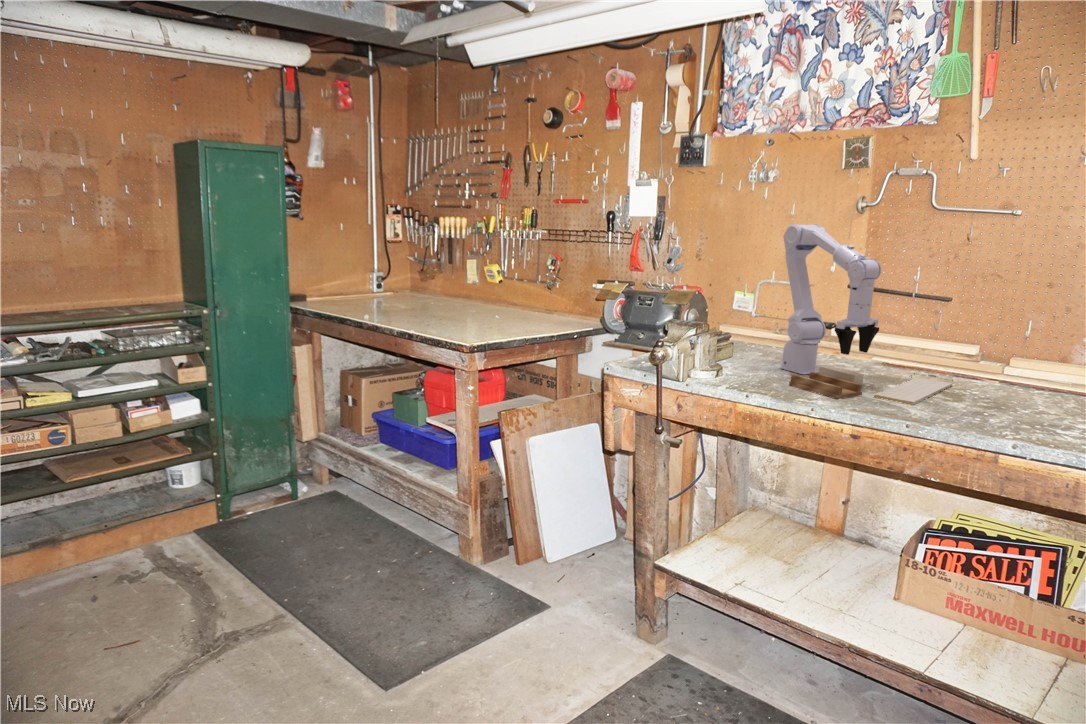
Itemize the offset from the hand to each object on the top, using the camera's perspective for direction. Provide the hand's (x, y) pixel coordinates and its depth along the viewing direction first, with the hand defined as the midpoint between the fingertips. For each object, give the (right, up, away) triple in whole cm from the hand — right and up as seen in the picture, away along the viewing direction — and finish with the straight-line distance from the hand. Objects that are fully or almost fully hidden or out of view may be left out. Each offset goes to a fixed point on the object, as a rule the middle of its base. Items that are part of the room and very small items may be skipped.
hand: (854, 352), depth 190 cm
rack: (-10, -10, -4) cm, 14 cm away
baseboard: (+14, -11, -2) cm, 18 cm away
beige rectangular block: (-2, -9, +5) cm, 10 cm away
